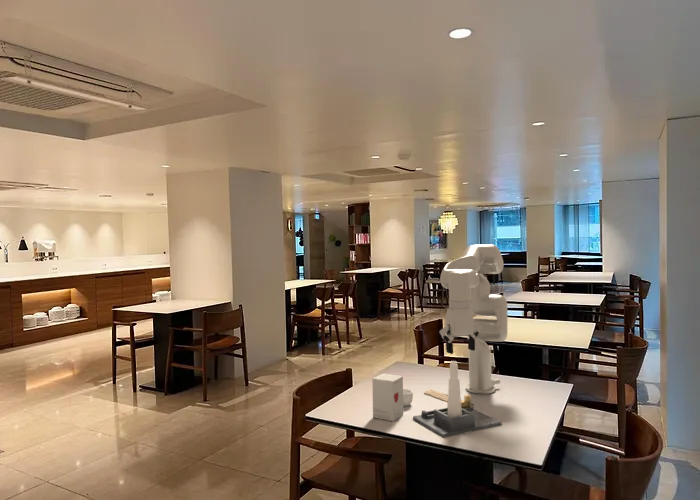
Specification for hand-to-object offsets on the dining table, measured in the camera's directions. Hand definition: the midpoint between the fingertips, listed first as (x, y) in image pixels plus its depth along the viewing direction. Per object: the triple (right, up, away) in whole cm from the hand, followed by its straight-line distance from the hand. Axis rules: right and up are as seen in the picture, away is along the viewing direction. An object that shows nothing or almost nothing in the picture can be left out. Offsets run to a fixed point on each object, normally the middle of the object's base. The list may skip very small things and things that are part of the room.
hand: (460, 351), depth 179 cm
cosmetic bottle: (-3, -25, -4) cm, 25 cm away
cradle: (-2, -26, -1) cm, 26 cm away
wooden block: (+2, -24, +9) cm, 26 cm away
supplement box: (-26, -26, +7) cm, 38 cm away
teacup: (-19, -26, +21) cm, 39 cm away
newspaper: (+1, -26, +26) cm, 37 cm away
